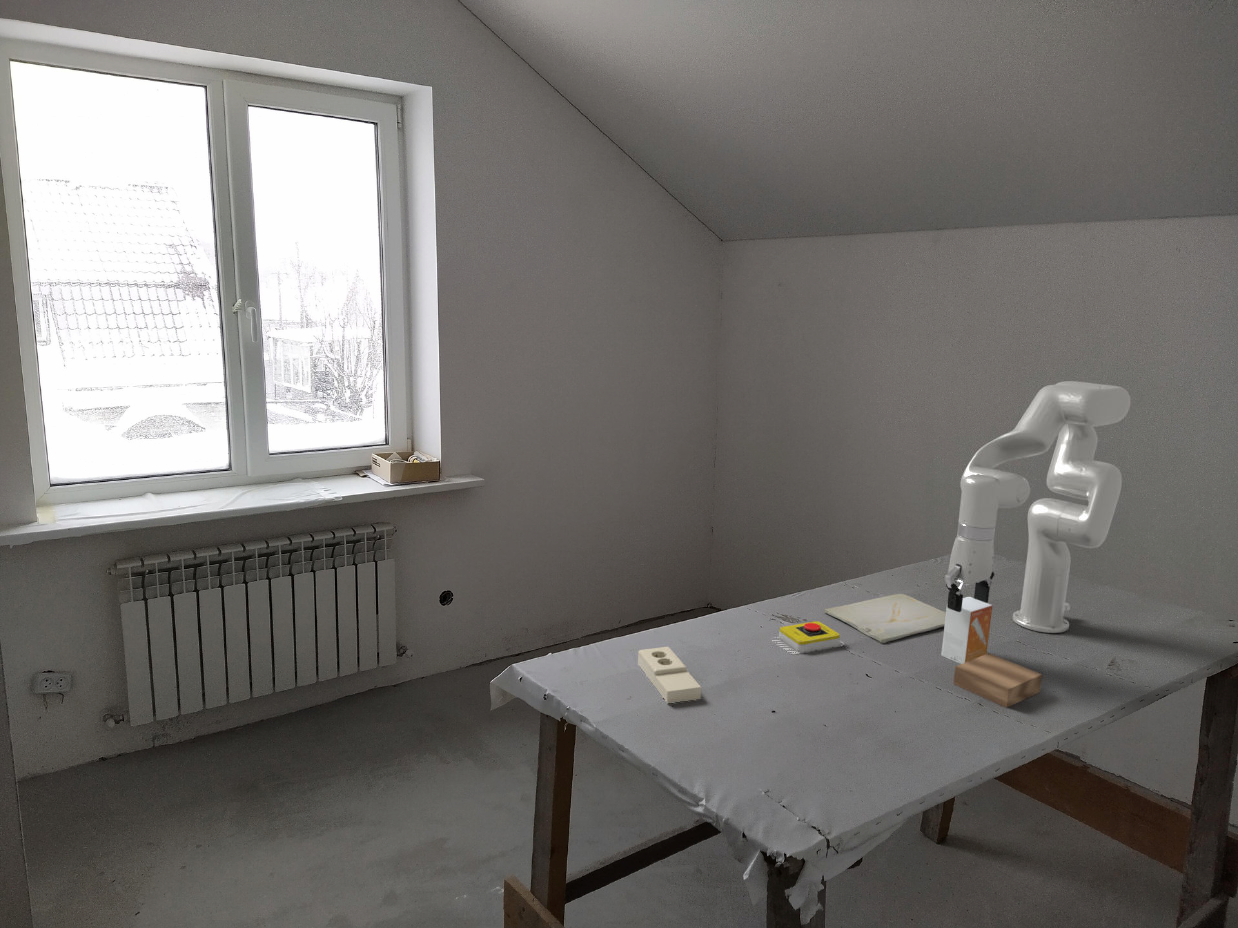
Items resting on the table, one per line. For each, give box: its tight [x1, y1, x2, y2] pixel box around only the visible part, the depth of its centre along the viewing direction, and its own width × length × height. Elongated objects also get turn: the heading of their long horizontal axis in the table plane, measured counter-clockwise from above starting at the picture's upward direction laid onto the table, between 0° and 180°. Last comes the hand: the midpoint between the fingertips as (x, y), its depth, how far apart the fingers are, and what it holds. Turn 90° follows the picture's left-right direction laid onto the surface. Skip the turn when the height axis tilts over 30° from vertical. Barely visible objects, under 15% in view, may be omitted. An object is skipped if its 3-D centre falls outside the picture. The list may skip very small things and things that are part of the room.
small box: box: [940, 596, 993, 665], centre depth 193 cm, size 8×6×13 cm
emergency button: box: [770, 620, 846, 655], centre depth 200 cm, size 9×4×15 cm
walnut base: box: [953, 652, 1043, 709], centre depth 179 cm, size 12×12×4 cm
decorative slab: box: [823, 593, 946, 644], centre depth 215 cm, size 27×21×2 cm
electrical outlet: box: [637, 646, 702, 703], centre depth 179 cm, size 7×4×18 cm
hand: (967, 605), depth 191 cm, fingers open, 9 cm apart
